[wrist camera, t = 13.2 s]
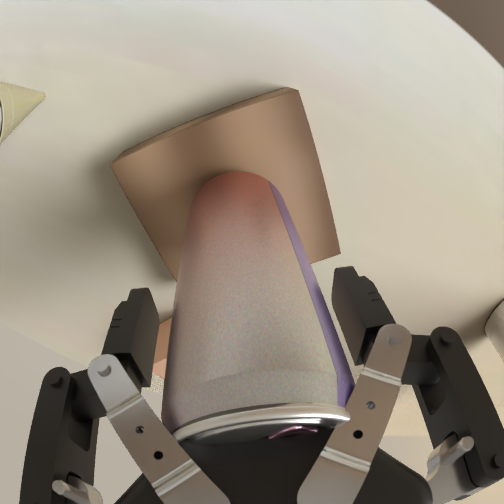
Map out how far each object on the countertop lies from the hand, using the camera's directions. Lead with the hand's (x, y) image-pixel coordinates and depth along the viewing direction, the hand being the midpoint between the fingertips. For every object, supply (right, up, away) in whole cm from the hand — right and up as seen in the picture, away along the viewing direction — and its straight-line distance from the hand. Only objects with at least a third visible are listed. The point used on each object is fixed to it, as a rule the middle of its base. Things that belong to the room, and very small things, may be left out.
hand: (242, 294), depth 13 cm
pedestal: (-1, +6, +9) cm, 11 cm away
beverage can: (-1, +4, +7) cm, 8 cm away
